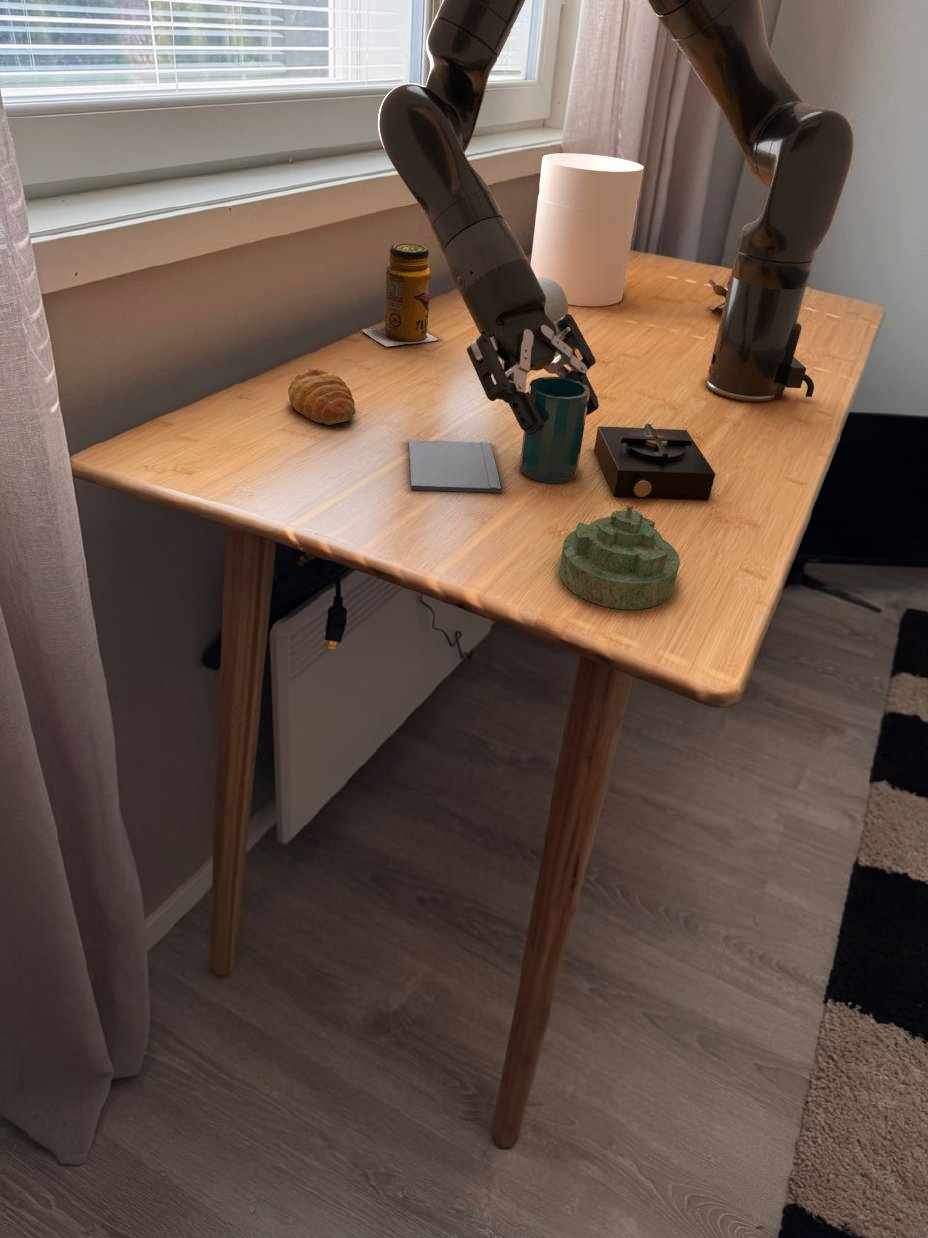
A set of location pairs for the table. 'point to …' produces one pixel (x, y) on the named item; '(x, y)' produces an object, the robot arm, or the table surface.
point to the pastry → (321, 397)
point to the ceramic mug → (554, 299)
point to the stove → (653, 463)
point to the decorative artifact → (619, 562)
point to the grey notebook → (453, 466)
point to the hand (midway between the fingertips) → (564, 421)
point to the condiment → (405, 297)
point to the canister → (586, 225)
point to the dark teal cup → (555, 430)
